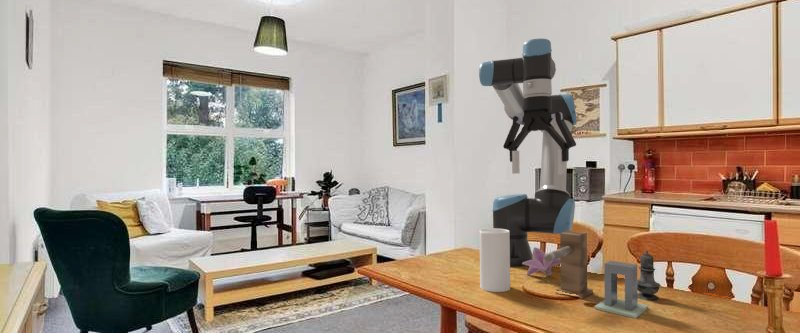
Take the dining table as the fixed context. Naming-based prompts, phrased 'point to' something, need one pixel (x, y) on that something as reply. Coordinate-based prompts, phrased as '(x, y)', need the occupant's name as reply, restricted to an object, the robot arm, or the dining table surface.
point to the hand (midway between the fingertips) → (538, 173)
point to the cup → (495, 259)
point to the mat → (621, 308)
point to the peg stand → (572, 263)
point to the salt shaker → (647, 279)
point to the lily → (540, 263)
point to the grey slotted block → (630, 283)
